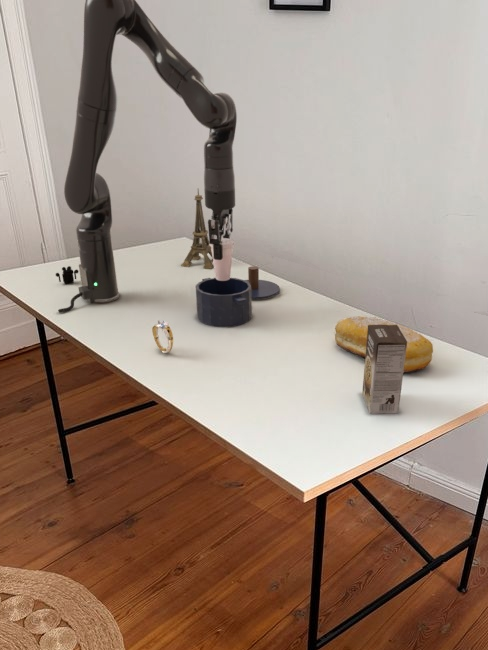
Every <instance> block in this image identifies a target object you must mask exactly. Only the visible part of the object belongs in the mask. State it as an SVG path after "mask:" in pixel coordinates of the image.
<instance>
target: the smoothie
mask: <svg viewBox="0 0 488 650" xmlns="http://www.w3.org/2000/svg"><path fill="white" fill-rule="evenodd" d="M215 239H217V237H215ZM222 242H223V243H222V250H223V258H222V260H215V259H214V253H213V244H209V245H210V246H211V251H212V257H213V258H212V257H211V258H212V259H213V261H212V264H213V265H214V267H213V268H214V269H213V270H214V275H215V278H216V280H219V281H226V280H229V279H230V278H231V272H232V271H231V270H232V259H233V252H234V251H233V249H234V247H235V240H233V239H232V238H230V239H228V238H223V241H222ZM209 243H210V242H209Z"/></svg>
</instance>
